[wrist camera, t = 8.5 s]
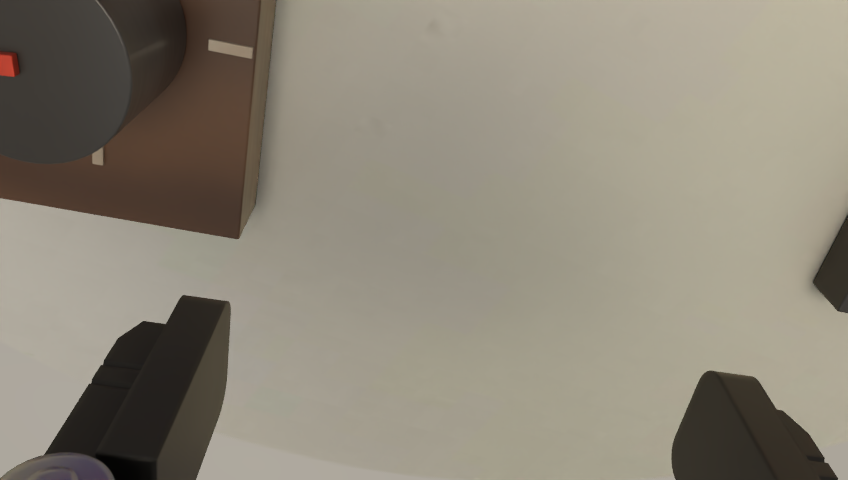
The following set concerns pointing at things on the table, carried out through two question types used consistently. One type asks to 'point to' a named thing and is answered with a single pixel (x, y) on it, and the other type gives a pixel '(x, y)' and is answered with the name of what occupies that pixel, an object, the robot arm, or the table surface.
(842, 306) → the dark piece
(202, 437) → the robot arm
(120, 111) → the knob
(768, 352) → the table surface
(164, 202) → the dial panel
